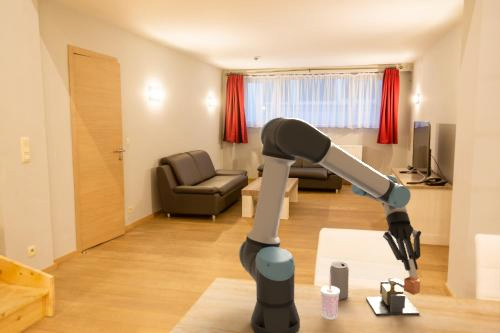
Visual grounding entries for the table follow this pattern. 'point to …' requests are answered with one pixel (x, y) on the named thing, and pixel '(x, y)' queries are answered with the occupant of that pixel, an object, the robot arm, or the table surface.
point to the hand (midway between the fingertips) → (414, 279)
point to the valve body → (391, 302)
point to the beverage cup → (330, 301)
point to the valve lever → (407, 284)
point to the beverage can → (340, 278)
